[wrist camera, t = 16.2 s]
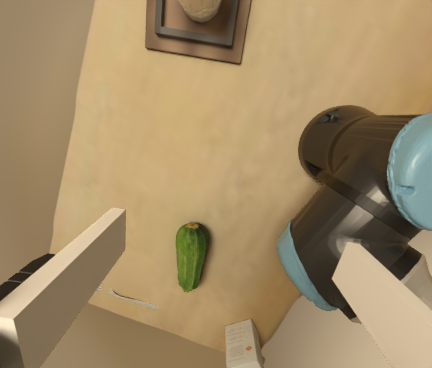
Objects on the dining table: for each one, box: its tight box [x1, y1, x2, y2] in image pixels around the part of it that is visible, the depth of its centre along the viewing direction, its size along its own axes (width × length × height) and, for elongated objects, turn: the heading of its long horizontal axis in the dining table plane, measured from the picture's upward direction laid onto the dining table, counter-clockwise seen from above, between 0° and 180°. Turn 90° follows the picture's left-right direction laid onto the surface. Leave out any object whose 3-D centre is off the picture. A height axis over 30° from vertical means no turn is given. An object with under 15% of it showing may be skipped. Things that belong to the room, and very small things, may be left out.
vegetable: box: [176, 223, 209, 293], centre depth 47 cm, size 7×7×20 cm
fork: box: [96, 283, 159, 310], centre depth 55 cm, size 3×24×2 cm, turn 64°
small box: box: [225, 319, 264, 368], centre depth 53 cm, size 8×6×10 cm
